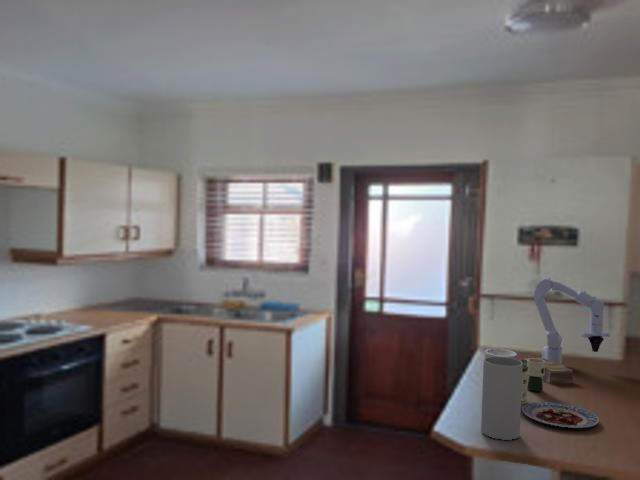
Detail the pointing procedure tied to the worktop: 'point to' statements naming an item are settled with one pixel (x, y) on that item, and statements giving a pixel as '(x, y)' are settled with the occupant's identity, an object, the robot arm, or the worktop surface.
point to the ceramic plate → (560, 415)
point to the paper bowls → (500, 353)
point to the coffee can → (524, 384)
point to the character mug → (535, 374)
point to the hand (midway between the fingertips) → (595, 351)
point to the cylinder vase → (501, 397)
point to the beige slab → (554, 372)
